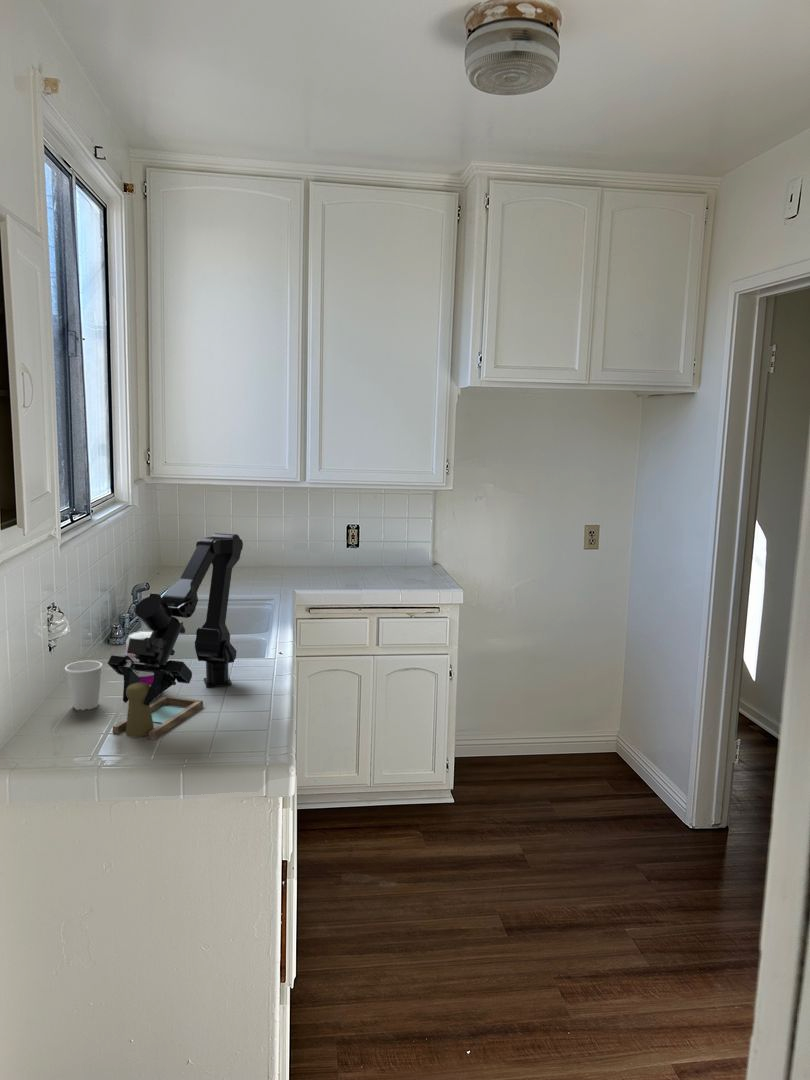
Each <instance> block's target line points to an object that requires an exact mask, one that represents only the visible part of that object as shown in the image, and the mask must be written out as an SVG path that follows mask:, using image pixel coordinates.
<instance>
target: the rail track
mask: <svg viewBox="0 0 810 1080" xmlns="http://www.w3.org/2000/svg"><path fill="white" fill-rule="evenodd" d="M168 705H174V706H182V707H185V708H182V707H180V708H179V707H174V706H168ZM203 707H204V700H202V699H195V698H194V699H193V698H187V697H178V696H172V695H164V696H162V697H161V698H159V699H156V700H155V701H152V702H151V703H150V709H151V715H152V720H153V723H156V724H159V725H157V726H156V727H154V729H152V730H151V731H149V735H148V739H152V740H155V739H156V738H158V737H159V736H161V735H162V734H164V733H165V732H167V731H168V730H170V729H171V728H173V727H174V726H176V725H177V724H179V723H180V722H182V721H183V720H185V719H186V718H188V717H190V716H191V715H192V714H194V713H196V712H197V711H199V710H200V709H201V708H203ZM126 726H127V717H125V719H123V720H121V721H119V722H118V723H116V724H114V725H113V726H112V733H113V734H119V733H121V732H122V731H124V730H126Z"/></svg>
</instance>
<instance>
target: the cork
mask: <svg viewBox="0 0 810 1080" xmlns="http://www.w3.org/2000/svg"><path fill="white" fill-rule="evenodd" d="M149 689H150V686H149V685H148V684H147V683H143V682H138V683H133V684H131V685H129V686H128V687H127V689H126V696H127V698H128V699H129V700H128V707H127V708H128V709H127V715H126V718H127V726H126V729H125V735H127V737H131V738H141V737H147V736H149V731H151V730H152V729H154V728H155V727H154V722H153V720H152V715H151V709H150V704H151V703H150V704H149V705H148V706H147V705H145V704H144V702H145V699H146V696H147V694H148V691H149Z"/></svg>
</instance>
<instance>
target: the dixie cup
mask: <svg viewBox="0 0 810 1080" xmlns="http://www.w3.org/2000/svg"><path fill="white" fill-rule="evenodd" d="M102 667H103V663H102V662H100V661H97V660H80V661H75V662H74V661H73V662H71V663H69V664H67V665H66V666H65V667H64V671H65V672H66V678H67V683H68V688H69V693H70V698H71V702H72V703H71V704H72V707H74V708H76V709H84V710H83V711H86V710H85V709H88V710H92V709H95V708H97V707H98V706H99V704H100V703H99V702H100V701H99V700H100V692H101V690H100V689H101V677H102ZM74 708H73V709H74ZM76 709H75V710H76Z"/></svg>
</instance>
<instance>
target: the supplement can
mask: <svg viewBox="0 0 810 1080" xmlns="http://www.w3.org/2000/svg"><path fill="white" fill-rule="evenodd" d="M152 632H153V630H141V631H135V632H131V633H129V634H128V637H127V639H126V641H125V647H126V650H125V651H126V655H128V656H129V657H130V658H131V659H132V660H133V661H134V662H139V661H140V660H139V659H136V658H135V654H133V653H127V650H128V645H129V641H130V639H138V640H144V639H145V638H150V636H151V634H152ZM137 676H138V677H139V678H140V679H141V680H140V682H143V683H147V684H148V685H149V686H150V687H151V684H152V682H153V680H154V673H152V672H144V671H138V673H137Z"/></svg>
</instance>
